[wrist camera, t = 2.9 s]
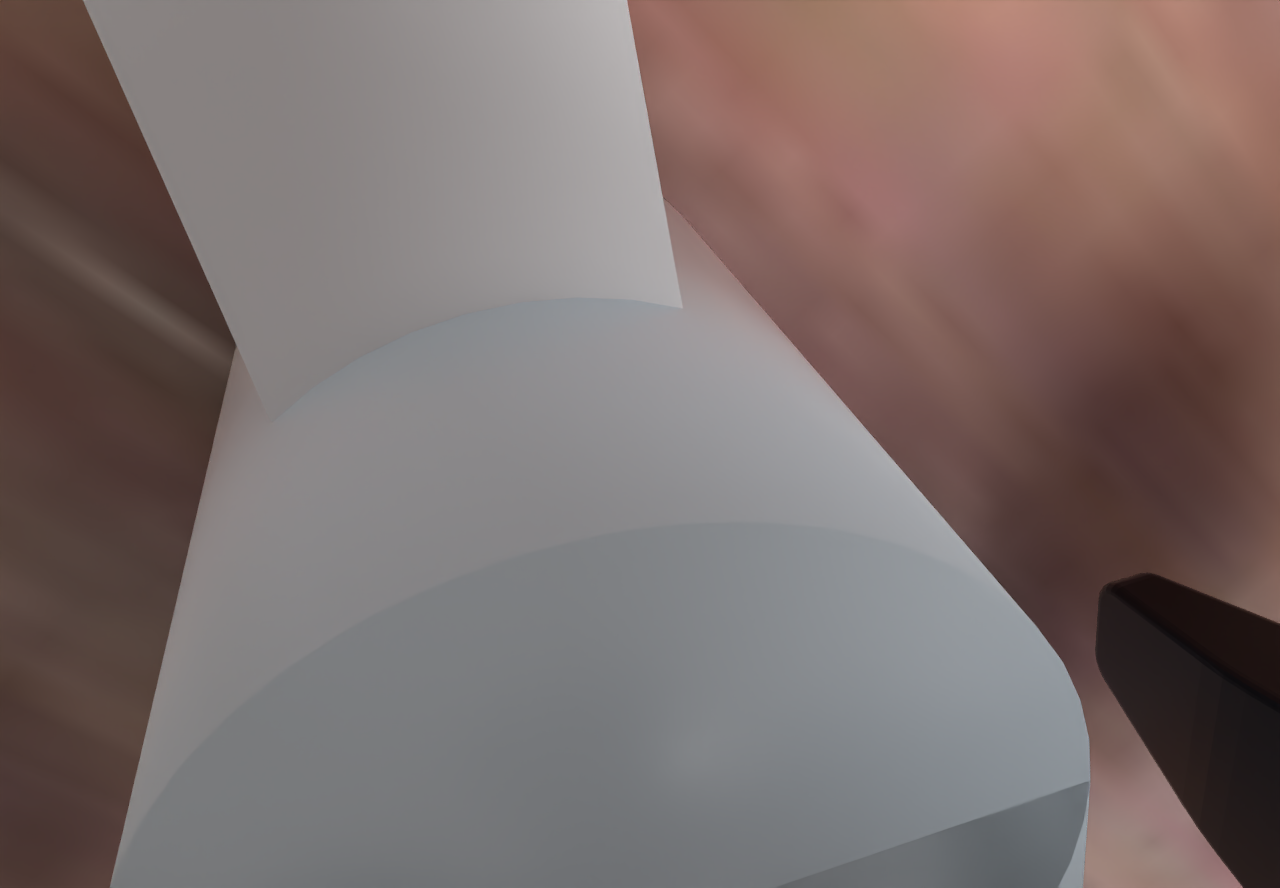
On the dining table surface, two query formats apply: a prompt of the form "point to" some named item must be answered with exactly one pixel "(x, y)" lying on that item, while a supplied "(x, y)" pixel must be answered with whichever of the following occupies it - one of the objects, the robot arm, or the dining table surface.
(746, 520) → the connector casing
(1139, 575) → the robot arm
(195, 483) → the dining table surface
